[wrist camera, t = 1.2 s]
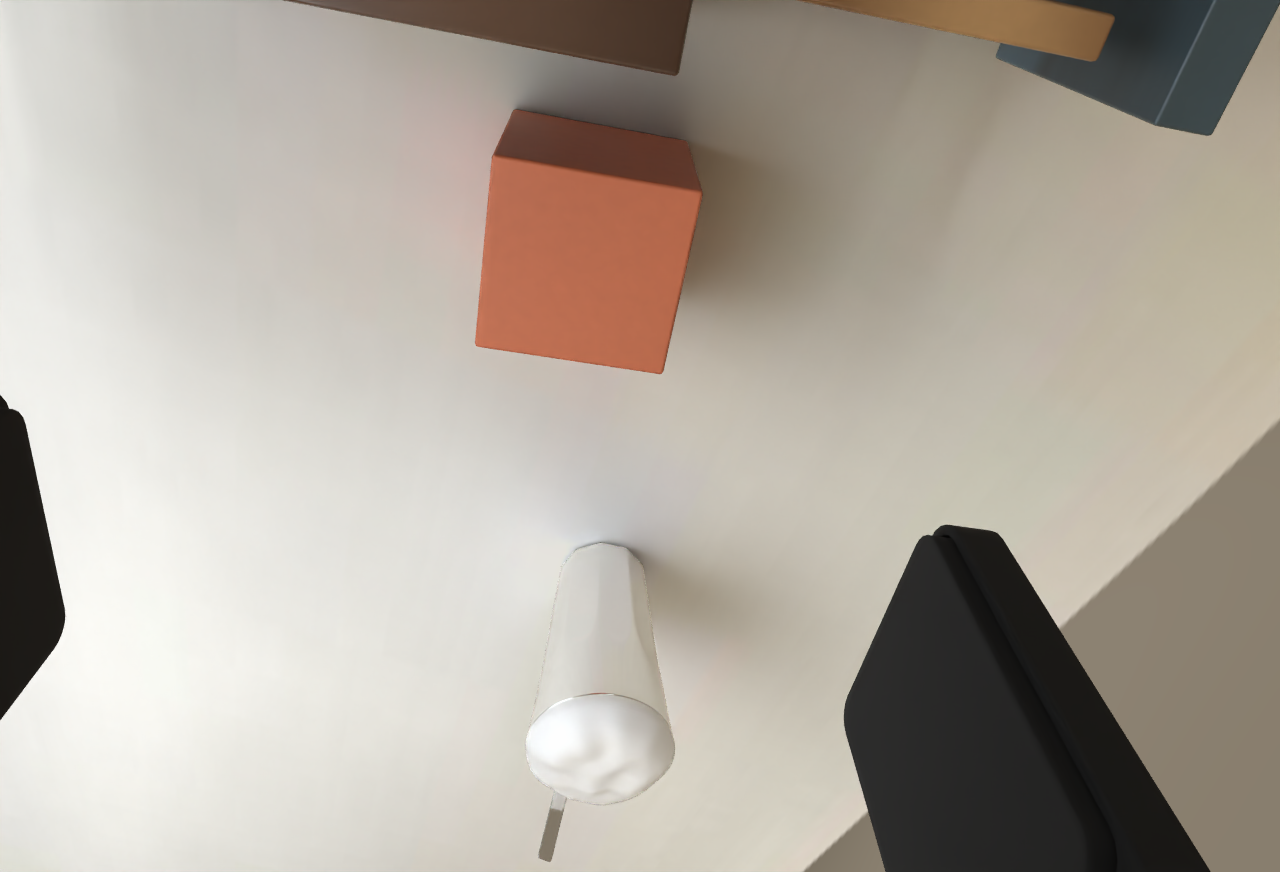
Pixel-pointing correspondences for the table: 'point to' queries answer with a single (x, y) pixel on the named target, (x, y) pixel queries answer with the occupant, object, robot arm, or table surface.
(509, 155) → the block
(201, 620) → the table surface
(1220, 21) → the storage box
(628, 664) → the milkshake
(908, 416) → the table surface
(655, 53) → the cabinet
